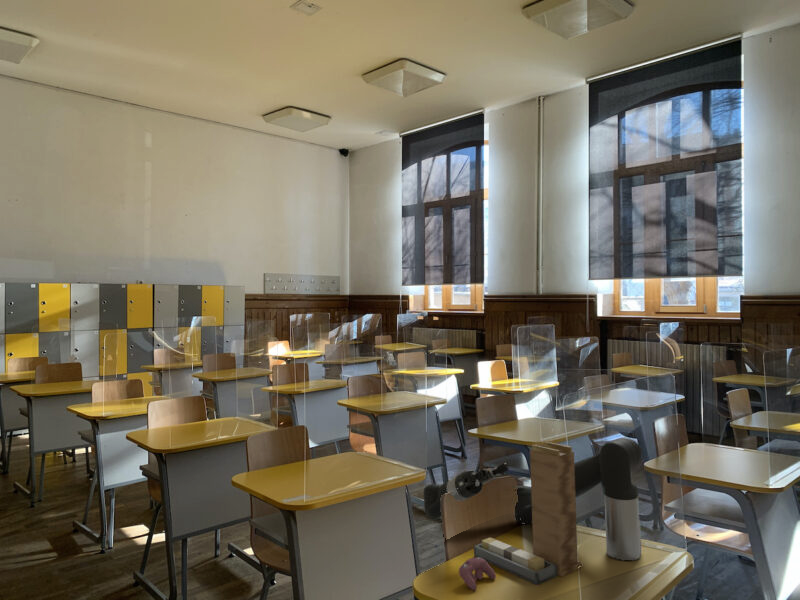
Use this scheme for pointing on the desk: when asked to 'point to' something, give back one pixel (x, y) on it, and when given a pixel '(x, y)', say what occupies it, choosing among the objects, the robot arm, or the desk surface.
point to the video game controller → (479, 567)
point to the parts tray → (517, 566)
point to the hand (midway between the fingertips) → (496, 469)
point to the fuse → (514, 554)
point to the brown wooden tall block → (554, 506)
